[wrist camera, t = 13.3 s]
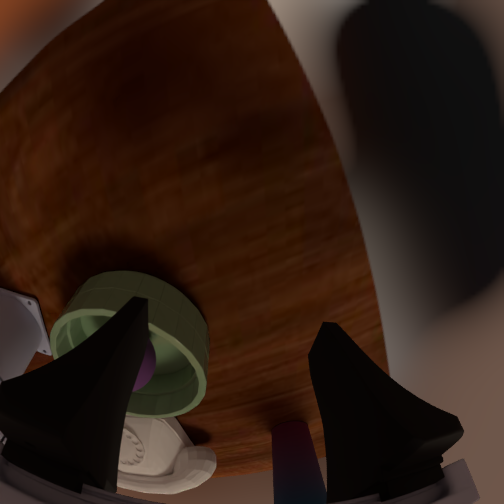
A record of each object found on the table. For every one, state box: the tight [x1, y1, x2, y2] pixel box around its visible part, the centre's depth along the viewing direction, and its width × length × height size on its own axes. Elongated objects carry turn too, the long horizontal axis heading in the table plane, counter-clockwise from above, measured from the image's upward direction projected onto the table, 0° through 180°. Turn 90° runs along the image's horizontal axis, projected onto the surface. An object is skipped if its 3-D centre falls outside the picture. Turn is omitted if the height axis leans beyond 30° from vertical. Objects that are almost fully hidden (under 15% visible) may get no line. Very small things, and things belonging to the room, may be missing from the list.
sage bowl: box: [50, 271, 210, 418], centre depth 22 cm, size 13×13×6 cm
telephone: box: [117, 414, 216, 494], centre depth 29 cm, size 16×20×9 cm
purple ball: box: [132, 337, 156, 392], centre depth 21 cm, size 6×6×6 cm
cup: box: [272, 421, 327, 504], centre depth 28 cm, size 7×7×15 cm
